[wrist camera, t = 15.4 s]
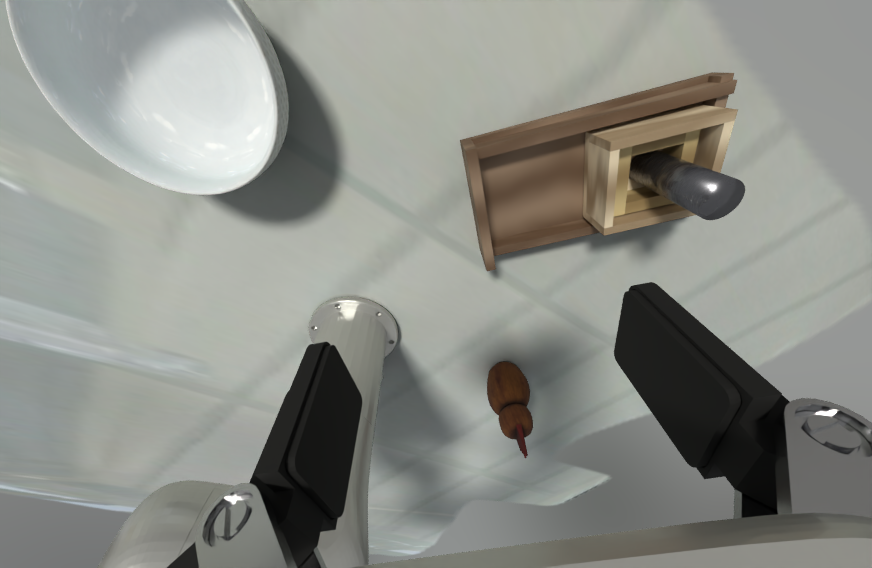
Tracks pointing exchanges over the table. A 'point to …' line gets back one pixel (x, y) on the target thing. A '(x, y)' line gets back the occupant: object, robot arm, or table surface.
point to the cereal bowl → (161, 85)
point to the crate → (618, 144)
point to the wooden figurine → (510, 401)
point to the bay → (556, 166)
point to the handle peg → (687, 184)
